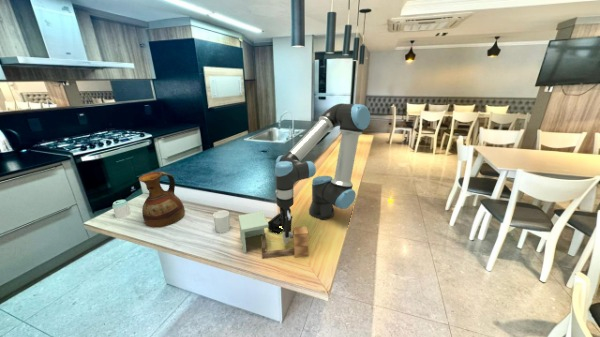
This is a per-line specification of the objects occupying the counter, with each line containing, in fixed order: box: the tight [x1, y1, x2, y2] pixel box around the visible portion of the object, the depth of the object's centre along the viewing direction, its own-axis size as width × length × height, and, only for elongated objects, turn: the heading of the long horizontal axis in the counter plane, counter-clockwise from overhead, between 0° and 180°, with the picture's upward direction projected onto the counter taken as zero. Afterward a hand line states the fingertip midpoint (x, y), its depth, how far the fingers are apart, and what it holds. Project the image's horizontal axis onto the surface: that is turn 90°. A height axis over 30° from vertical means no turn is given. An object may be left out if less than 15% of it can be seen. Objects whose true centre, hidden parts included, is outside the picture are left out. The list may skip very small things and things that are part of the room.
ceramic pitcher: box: [138, 171, 186, 228], centre depth 126 cm, size 20×20×30 cm
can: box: [112, 199, 132, 219], centre depth 130 cm, size 7×7×12 cm
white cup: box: [212, 209, 231, 234], centre depth 120 cm, size 8×8×10 cm
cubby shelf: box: [238, 210, 269, 254], centre depth 110 cm, size 12×13×12 cm
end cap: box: [267, 212, 283, 235], centre depth 122 cm, size 10×7×7 cm
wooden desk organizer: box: [261, 226, 309, 259], centre depth 105 cm, size 20×12×12 cm, turn 99°
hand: (286, 241), depth 109 cm, fingers closed
